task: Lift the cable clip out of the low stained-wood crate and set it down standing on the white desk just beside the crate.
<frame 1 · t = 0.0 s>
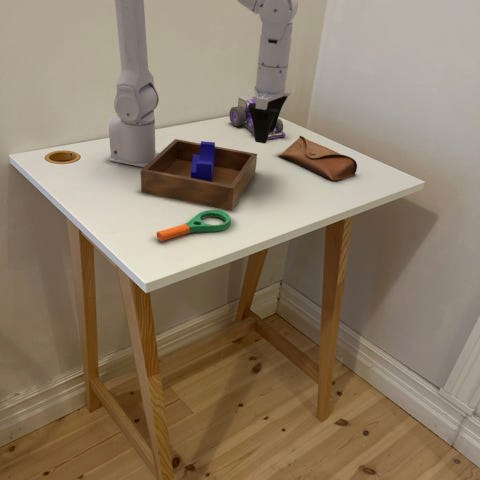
hand: (264, 136, 106), 10 cm above the table, tool pointing down, fingers open, 7 cm apart
magnifying glass: (194, 230, 94), on the table
sunglasses case: (315, 166, 122), on the table
crate: (201, 182, 109), on the table
toy race car: (258, 130, 138), on the table
cable clip: (201, 180, 109), resting on crate
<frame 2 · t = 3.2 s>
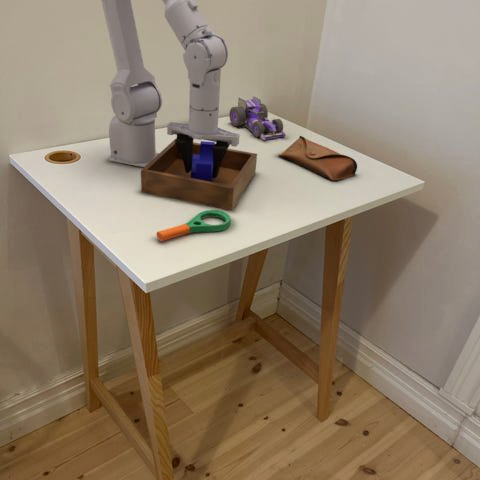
hand: (201, 173, 108), 2 cm above the table, tool pointing down, fingers closed on cable clip, 5 cm apart
cable clip: (201, 180, 109), resting on crate, touching gripper
everything else where it was.
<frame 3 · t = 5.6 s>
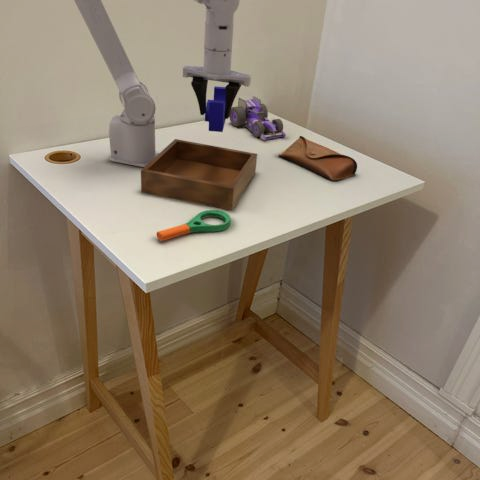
hand: (214, 115, 115), 9 cm above the table, tool pointing down, fingers closed on cable clip, 5 cm apart
cable clip: (214, 123, 116), point 8 cm above the table, touching gripper
everything else where it was.
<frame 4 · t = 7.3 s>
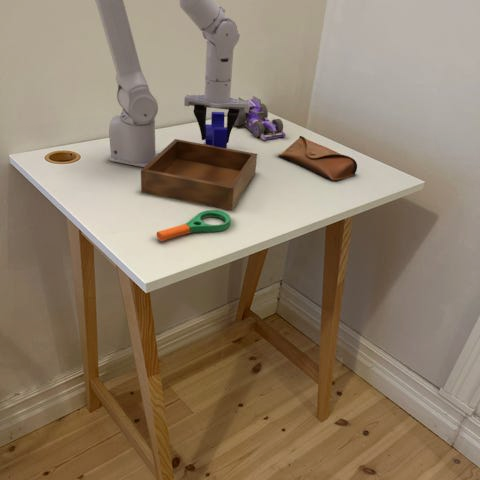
hand: (215, 140, 121), 3 cm above the table, tool pointing down, fingers closed on cable clip, 5 cm apart
cable clip: (215, 146, 122), point 1 cm above the table, touching gripper
everything else where it was.
when the fingers open (1 cm above the table, at t = 8.3 s): cable clip stays where it is, on the table.
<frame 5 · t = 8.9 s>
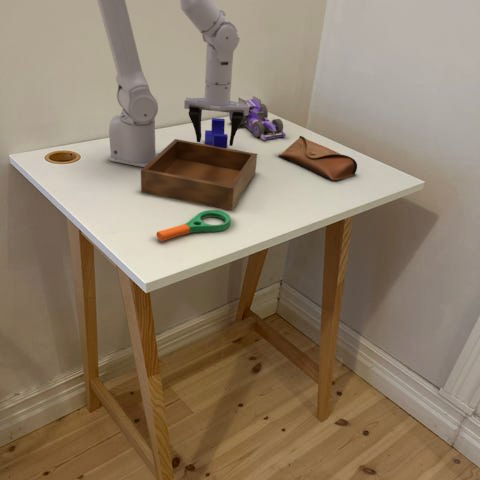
hand: (215, 142, 122), 2 cm above the table, tool pointing down, fingers open, 7 cm apart
cable clip: (214, 153, 123), on the table
everything else where it was.
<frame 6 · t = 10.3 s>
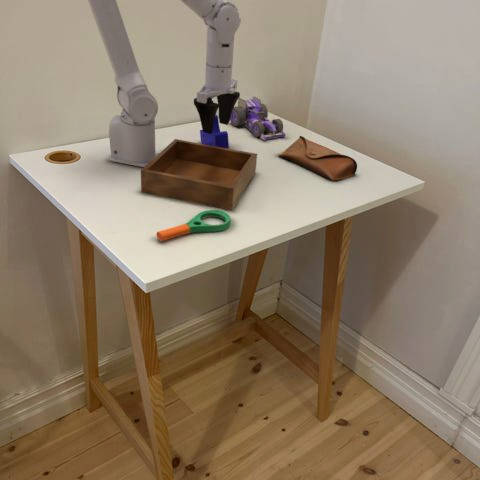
hand: (215, 128, 120), 6 cm above the table, tool pointing down
cable clip: (215, 151, 123), on the table, touching gripper
everything else where it was.
when the fingers open (7 cm above the table, at t = 11.0 s): cable clip stays where it is, point 1 cm above the table.
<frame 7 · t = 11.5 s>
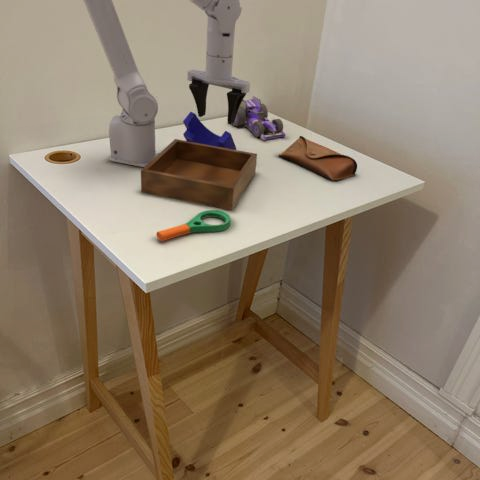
hand: (216, 119, 118), 8 cm above the table, tool pointing down, fingers open, 7 cm apart
cable clip: (211, 145, 123), point 1 cm above the table
everything else where it was.
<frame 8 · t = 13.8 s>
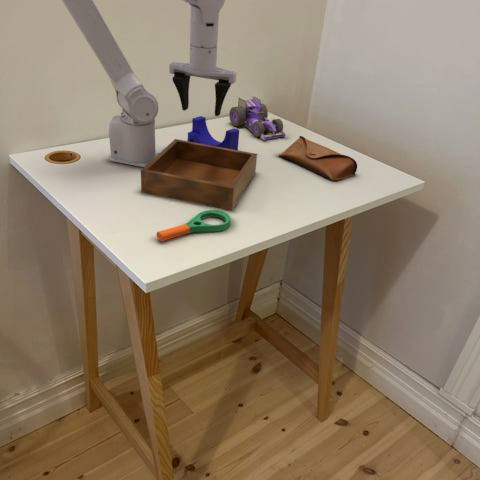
hand: (201, 112, 116), 9 cm above the table, tool pointing down, fingers open, 7 cm apart
cable clip: (212, 150, 124), on the table
everything else where it was.
at the end: cable clip inside the target area (1.3 cm from its centre), on the table; cable clip touching table; the gripper is holding nothing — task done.
